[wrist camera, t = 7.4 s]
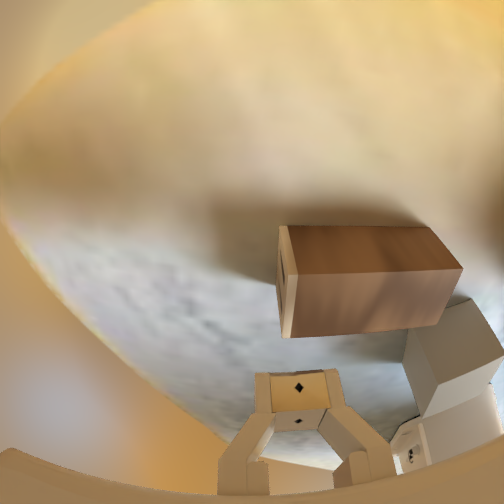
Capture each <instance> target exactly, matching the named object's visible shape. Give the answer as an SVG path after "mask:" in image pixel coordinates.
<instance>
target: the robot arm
mask: <svg viewBox="0 0 504 504" xmlns="http://www.w3.org/2000/svg"><path fill="white" fill-rule="evenodd" d="M496 399H497V398H496V394H495V393H494V387H493V385H492V384H488V385H487V387H486V388H485V390H484V391H483V393H482V394H480V395H478V396H476V397H474V398H472V399H470V400H467V401H465V402H463V403H461V404H459V405H456V406H454V407H452V408H449V409H447V410H444V411H442V412H439V413H437V414H434V415H432V416H429V417H426V418H424V419H421V416H419V417H417V418H415V419H412V420H410V421H408V422H406V423H404V424H402V425H401V426H400V427H399V429H398V430H397V432H396V434H395V435H394V437H393V439H392V440H391V442H390V444H389V443H388V442H387V441H386V440H385V439H384V438H382V437H381V436H380V435H379V434H378V433H377V432H376V431H375V430H374V429H373V428H372V427H371V426H370V425H369V424H368V423H367V422H366V421H365V420H364V419H362V418H361V417H360V416H359V415H358V414H357V413H356V412H355V411H354V410H353V409H352V408H351V407H350V406H347V407H346V404H345V399H344V395H343V391H342V386H341V382H340V378H339V373H338V371H337V369H335V368H334V369H323V370H322V369H320V370H309V371H296V372H277V373H269V372H268V373H255V383H254V408H255V413H252V414H251V415H250V417H249V418H248V420H247V421H246V423H245V424H244V426H243V427H242V428H241V430H240V431H239V433H238V434H237V435H236V437H235V438H234V440H233V441H232V442H231V444H230V445H229V447H228V448H227V449H226V451H225V452H224V453H223V455H222V456H221V458H220V459H219V462H218V490H217V495H204V494H191V493H181V492H173V491H165V490H158V489H151V488H145V487H139V486H134V485H129V484H124V483H119V482H115V481H110V480H106V479H102V478H98V477H95V476H91V475H87V474H83V473H80V472H77V471H74V470H71V469H67V468H64V467H61V466H58V465H55V464H53V463H50V462H47V461H44V460H42V459H39V458H37V457H34V456H32V455H29V454H27V453H24V452H22V451H20V450H17V449H15V448H8V449H6V450H4V451H3V452H1V453H0V504H504V430H503V426H502V422H501V419H500V415H499V411H498V408H497V404H496ZM311 429H318V431H319V433H320V434H321V435H322V436H323V437H324V439H325V440H326V441H327V442H328V444H329V445H330V446H331V447H332V448H333V450H334V451H335V452H336V453H337V454H338V456H339V457H340V458H341V459H342V460H343V462H342V463H341V465H340V466H339V467H338V468H337V469H336V470H335V471H334V472H333V482H334V489H329V490H322V491H314V492H305V493H294V494H281V495H270V491H269V475H268V464H267V463H265V462H264V461H257V460H258V458H259V456H260V455H261V453H262V452H263V450H264V448H265V447H266V445H267V443H268V442H269V440H270V438H271V436H272V435H273V432H283V431H295V430H311ZM396 456H399V459H400V463H401V466H402V470H403V472H404V473H403V474H400V475H397V473H396V469H395V464H394V460H393V457H396Z"/></svg>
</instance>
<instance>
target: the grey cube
mask: <svg viewBox="0 0 504 504" xmlns="http://www.w3.org/2000/svg"><path fill="white" fill-rule="evenodd" d="M503 359H504V349H503V347H502V346H501V344H500V342H499V340H498V339H497V337H496V335H495V334H494V332H493V330H492V329H491V327H490V325H489V324H488V322H487V321H486V319H485V317H484V316H483V314H482V313H481V311H480V310H479V308H478V307H477V305H476V304H475V302H474V301H473V299H470V300H468V301H465V302H462V303H460V304H457V305H454V306H451V307H449V308H446V309H444V311H443V313H442V315H441V317H440V319H439V321H438V323H437V324H436V325H430V326H423V327H416V328H408V333H407V339H406V345H405V350H404V355H403V360H402V365H403V367H404V370H405V373H406V375H407V378H408V381H409V384H410V387H411V389H412V392H413V395H414V398H415V401H416V404H417V407H418V410H419V413H420V416H421V419H424V418H426V417H429V416H432V415H434V414H437V413H439V412H442V411H444V410H447V409H449V408H452V407H454V406H456V405H459V404H461V403H463V402H465V401H467V400H470V399H472V398H474V397H476V396H478V395H480V394H482V393H483V391H484V390H485V388H486V387H487V385H488V384H489V382H490V381H491V379H492V377H493V376H494V374H495V373H496V371H497V369H498V368H499V366H500V364H501V363H502V361H503Z"/></svg>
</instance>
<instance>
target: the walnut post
mask: <svg viewBox="0 0 504 504" xmlns="http://www.w3.org/2000/svg"><path fill="white" fill-rule="evenodd" d="M462 271H463V268H462V266H461V265H460V264H459V262H458V261H457V260H456V259H455V257H454V256H453V255H452V254H451V252H450V251H449V250H448V249H447V248H446V246H445V245H444V244H443V243H442V241H441V240H440V239H439V238H438V237H437V236H436V234H435V233H434V232H433V231H432V230H431V229H430V228H428V227H387V226H279V241H278V258H277V275H276V292H277V300H278V308H279V317H280V326H281V334H282V338H301V337H320V336H335V335H349V334H360V333H371V332H381V331H391V330H399V329H408V328H416V327H423V326H430V325H436V324H437V323H438V321H439V319H440V317H441V315H442V313H443V311H444V309H445V307H446V305H447V303H448V301H449V299H450V297H451V295H452V293H453V291H454V289H455V286H456V284H457V282H458V280H459V278H460V275H461V273H462Z"/></svg>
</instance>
